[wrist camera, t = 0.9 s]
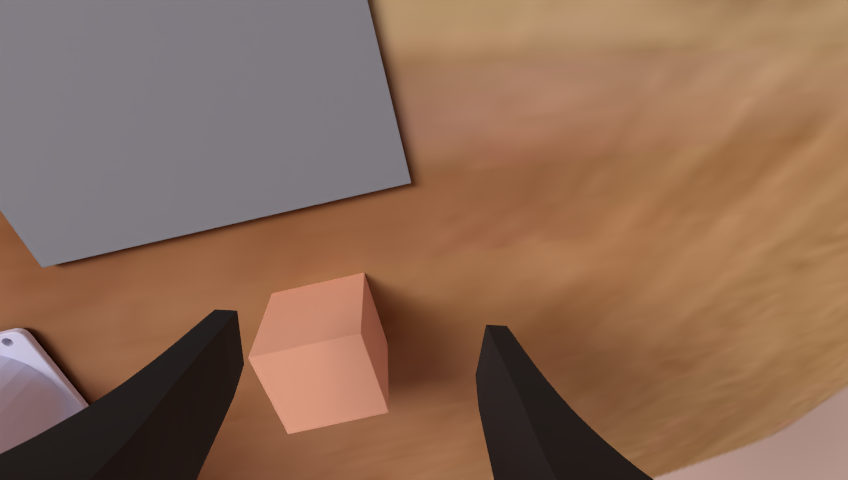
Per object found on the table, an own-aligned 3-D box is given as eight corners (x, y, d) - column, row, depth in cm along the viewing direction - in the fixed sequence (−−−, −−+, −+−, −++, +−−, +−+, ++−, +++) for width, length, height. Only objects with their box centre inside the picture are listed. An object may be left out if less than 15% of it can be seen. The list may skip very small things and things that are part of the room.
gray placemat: (48, 262, 22) (41, 267, 22) (-250, -156, 15) (-269, -161, 14) (410, 179, 22) (411, 183, 21) (296, -298, 14) (293, -308, 14)
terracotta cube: (303, 361, 27) (288, 434, 22) (272, 292, 24) (248, 358, 20) (387, 343, 26) (388, 412, 22) (364, 271, 24) (360, 333, 20)
